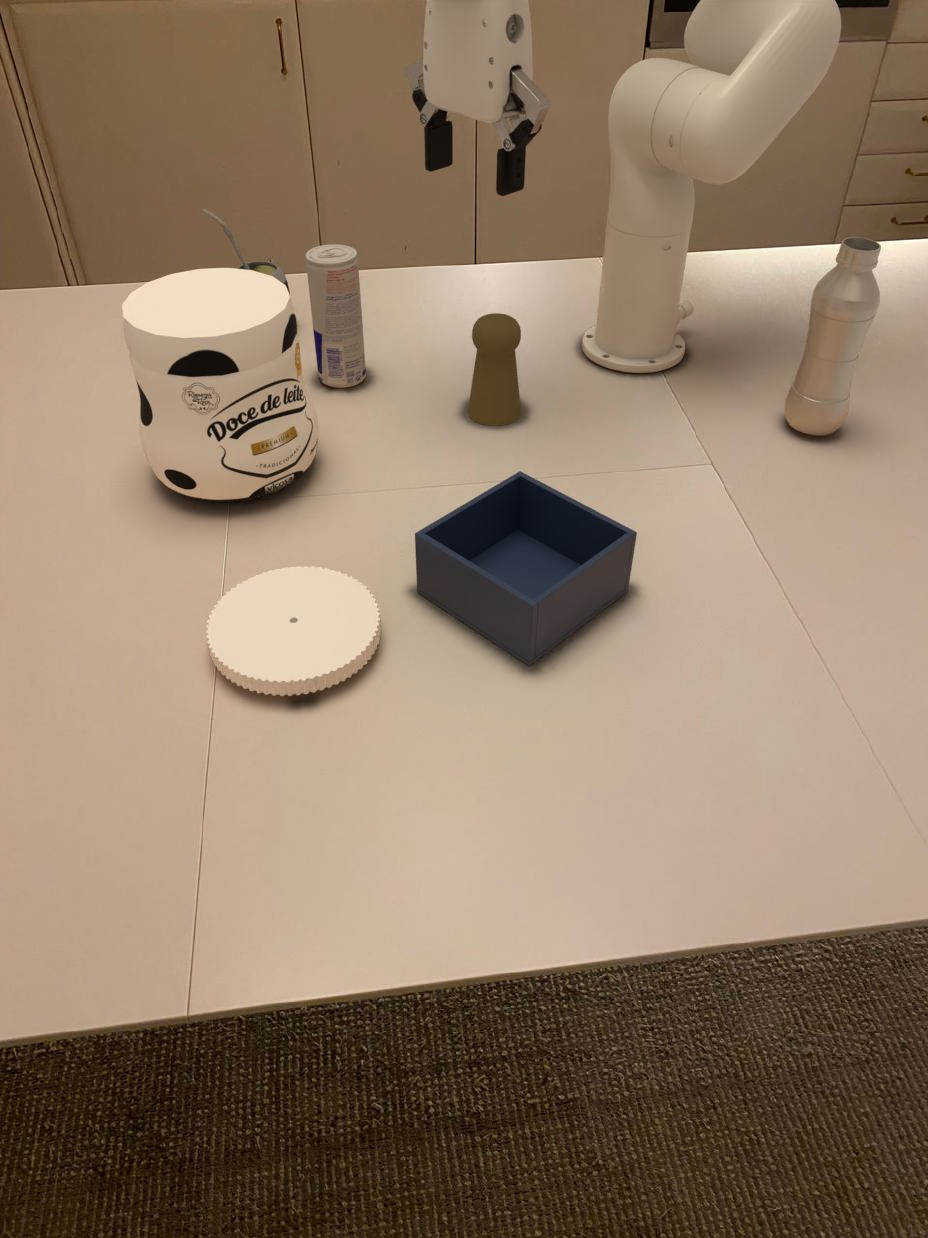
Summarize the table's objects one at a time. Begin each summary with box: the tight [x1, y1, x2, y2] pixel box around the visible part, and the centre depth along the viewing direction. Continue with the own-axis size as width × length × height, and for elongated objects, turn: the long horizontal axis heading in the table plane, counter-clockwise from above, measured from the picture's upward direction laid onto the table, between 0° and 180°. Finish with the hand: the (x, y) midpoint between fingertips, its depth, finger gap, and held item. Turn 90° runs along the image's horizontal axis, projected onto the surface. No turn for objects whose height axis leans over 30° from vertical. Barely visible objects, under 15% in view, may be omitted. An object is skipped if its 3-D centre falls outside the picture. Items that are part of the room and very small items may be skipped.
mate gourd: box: [201, 207, 291, 296], centre depth 117 cm, size 8×8×15 cm
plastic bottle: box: [783, 236, 882, 437], centre depth 98 cm, size 6×7×20 cm
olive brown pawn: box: [467, 312, 522, 427], centre depth 103 cm, size 6×6×11 cm
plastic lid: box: [205, 565, 382, 697], centre depth 78 cm, size 14×14×2 cm
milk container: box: [121, 267, 319, 503], centre depth 92 cm, size 17×17×18 cm
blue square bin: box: [414, 470, 638, 667], centre depth 82 cm, size 13×13×6 cm
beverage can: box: [305, 243, 367, 389], centre depth 107 cm, size 6×6×15 cm
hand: (473, 179), depth 92 cm, fingers open, 9 cm apart
